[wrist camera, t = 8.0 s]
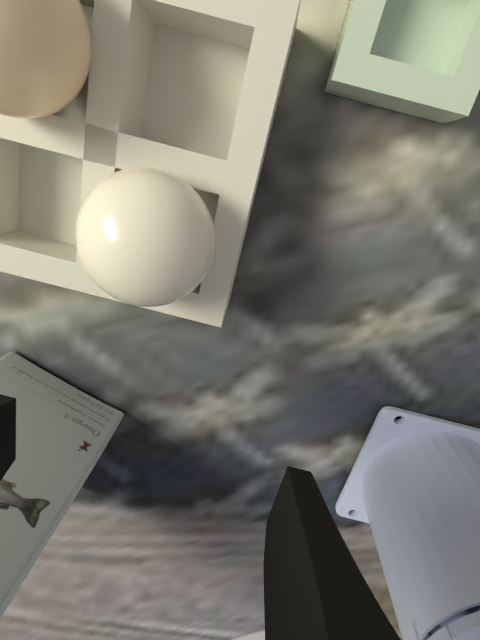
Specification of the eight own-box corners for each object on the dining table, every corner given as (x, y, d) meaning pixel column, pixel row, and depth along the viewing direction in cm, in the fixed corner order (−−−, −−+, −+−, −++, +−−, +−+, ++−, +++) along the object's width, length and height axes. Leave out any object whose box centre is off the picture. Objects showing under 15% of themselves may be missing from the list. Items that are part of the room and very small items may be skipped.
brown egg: (121, -12, 12) (38, -117, 8) (107, 141, 14) (33, 125, 10) (-17, -49, 12) (-180, -176, 8) (-13, 109, 14) (-144, 78, 10)
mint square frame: (506, -33, 13) (545, -68, 11) (443, 123, 15) (468, 116, 13) (369, -70, 13) (386, -111, 11) (323, 91, 15) (331, 79, 13)
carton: (296, 27, 14) (302, -10, 11) (228, 304, 18) (220, 327, 16) (-1, -52, 14) (-69, -110, 11) (2, 246, 18) (-47, 259, 15)
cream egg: (236, 184, 14) (218, 194, 10) (210, 296, 16) (185, 345, 12) (117, 151, 14) (47, 146, 10) (105, 267, 16) (41, 306, 12)
